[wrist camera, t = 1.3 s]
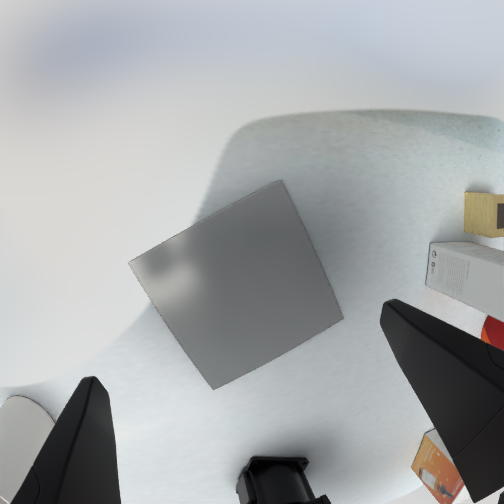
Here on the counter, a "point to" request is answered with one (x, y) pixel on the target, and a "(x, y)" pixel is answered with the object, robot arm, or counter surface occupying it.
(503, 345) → the coffee cup
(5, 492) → the mug
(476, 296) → the skincare box
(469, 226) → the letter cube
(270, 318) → the slate pad
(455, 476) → the small box
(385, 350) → the counter surface
